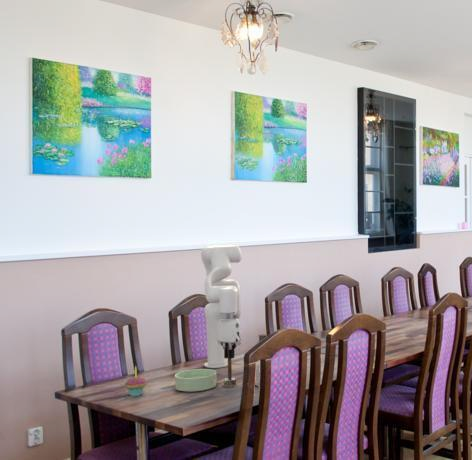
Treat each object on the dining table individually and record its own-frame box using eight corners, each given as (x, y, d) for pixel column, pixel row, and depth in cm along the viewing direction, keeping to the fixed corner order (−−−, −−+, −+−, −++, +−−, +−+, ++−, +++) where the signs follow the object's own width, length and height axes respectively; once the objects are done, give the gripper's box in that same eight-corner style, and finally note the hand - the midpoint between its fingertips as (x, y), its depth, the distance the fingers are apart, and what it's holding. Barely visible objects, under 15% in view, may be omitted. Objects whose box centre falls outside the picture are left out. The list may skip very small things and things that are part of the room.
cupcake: (125, 393, 271) (124, 364, 271) (146, 390, 275) (146, 362, 274) (125, 398, 263) (124, 369, 263) (147, 395, 267) (147, 367, 266)
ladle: (229, 383, 284) (228, 343, 284) (238, 385, 282) (237, 344, 282) (221, 386, 280) (220, 345, 279) (230, 387, 278) (229, 346, 277)
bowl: (195, 380, 291) (195, 367, 291) (224, 384, 283) (224, 371, 283) (166, 390, 275) (166, 376, 275) (196, 394, 268) (196, 380, 267)
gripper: (248, 315, 280) (249, 357, 280) (220, 313, 287) (221, 354, 288) (237, 318, 273) (237, 361, 274) (208, 316, 280) (209, 358, 281)
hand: (229, 357), depth 281 cm, fingers closed on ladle
